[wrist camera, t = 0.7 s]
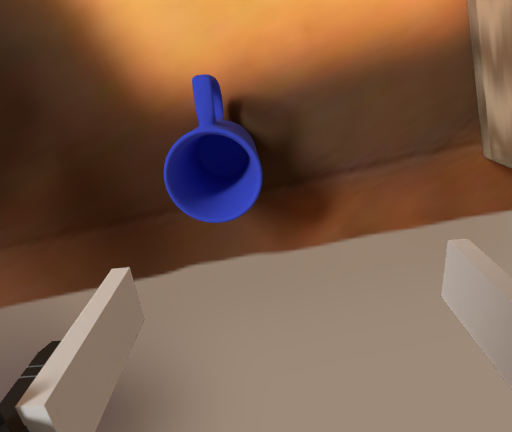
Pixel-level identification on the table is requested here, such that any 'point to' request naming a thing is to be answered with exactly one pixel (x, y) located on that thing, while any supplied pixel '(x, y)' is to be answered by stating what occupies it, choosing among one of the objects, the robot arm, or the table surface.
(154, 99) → the table surface
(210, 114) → the mug
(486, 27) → the cabinet
